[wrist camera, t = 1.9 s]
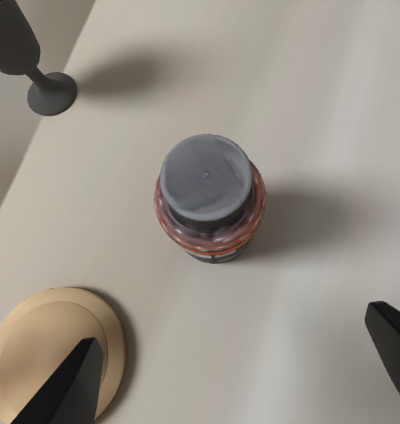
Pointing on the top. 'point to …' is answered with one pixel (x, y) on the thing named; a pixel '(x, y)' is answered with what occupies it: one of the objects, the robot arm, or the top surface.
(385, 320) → the robot arm
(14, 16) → the sundae
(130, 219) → the top surface
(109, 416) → the top surface
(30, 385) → the plate
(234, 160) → the supplement bottle
